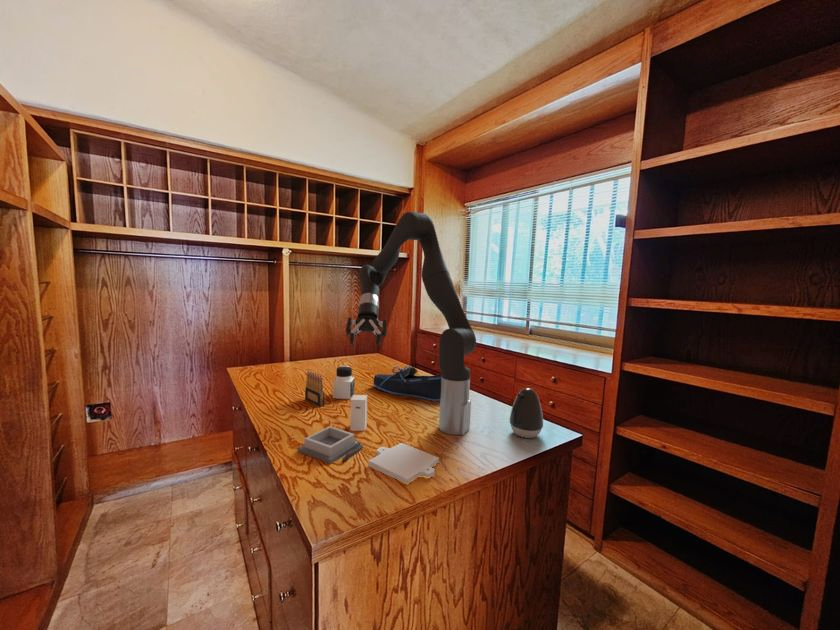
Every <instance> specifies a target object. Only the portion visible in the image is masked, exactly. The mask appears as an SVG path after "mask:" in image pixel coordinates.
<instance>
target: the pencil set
mask: <svg viewBox="0 0 840 630" xmlns="http://www.w3.org/2000/svg"><path fill="white" fill-rule="evenodd" d="M323 382H324V381H323V375H322V374H320V373H317V372H315V371H312V370H310V369H308V370H307V372H306V381H305V387H304V389H305V390H304V391H305V394H304V400H305V401H306V400H307V401H306V402H308V401H309V402H308V403H310V402H311V404H312V403H313V404H312V405H314V404H315V406H316V405H317V407H318V406H319V408H322V407H325V392H324V383H323Z"/></svg>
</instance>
